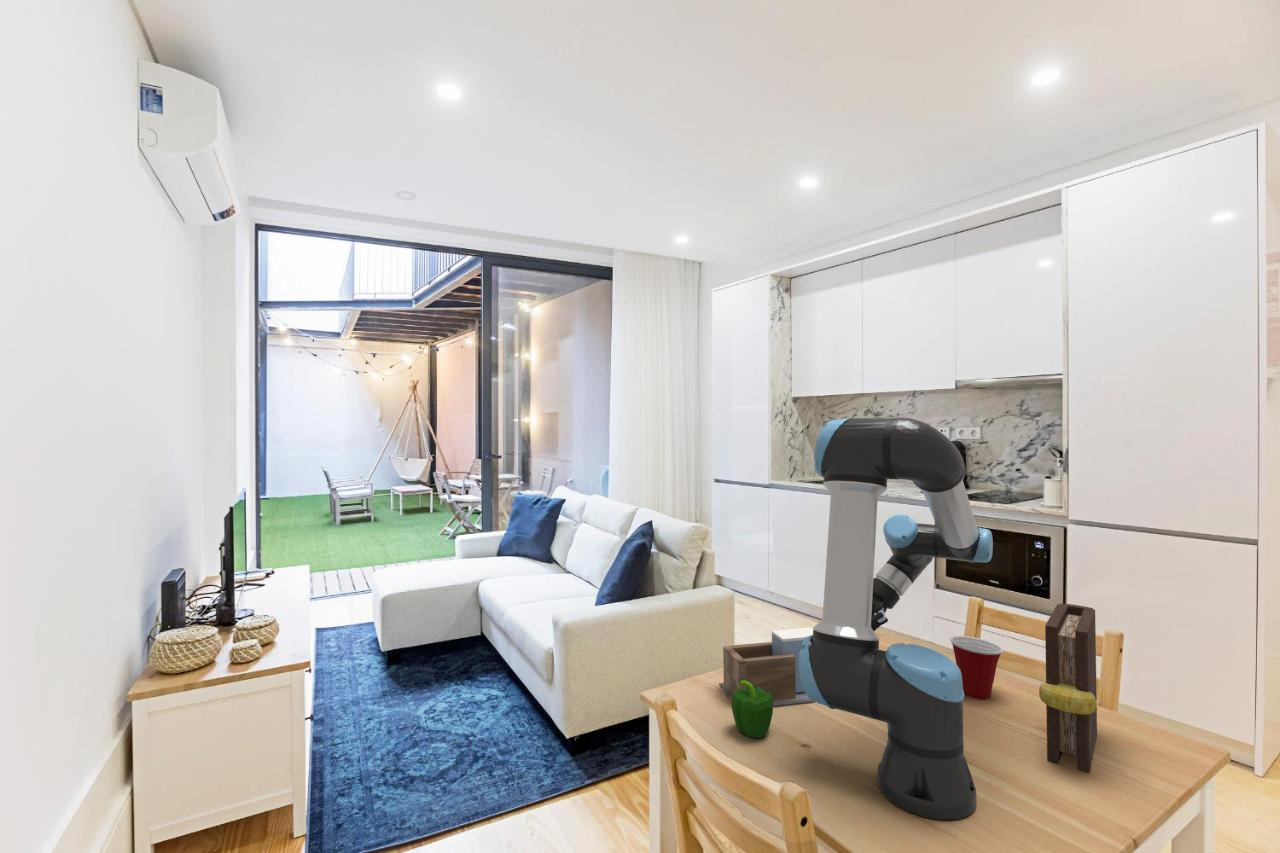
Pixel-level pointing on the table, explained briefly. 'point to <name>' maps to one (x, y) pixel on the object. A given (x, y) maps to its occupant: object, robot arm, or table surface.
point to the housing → (762, 673)
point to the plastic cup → (976, 664)
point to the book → (1071, 684)
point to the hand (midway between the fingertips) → (826, 661)
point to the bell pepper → (752, 710)
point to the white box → (790, 647)
